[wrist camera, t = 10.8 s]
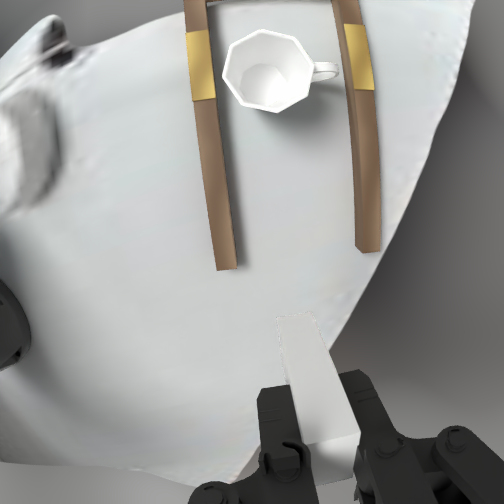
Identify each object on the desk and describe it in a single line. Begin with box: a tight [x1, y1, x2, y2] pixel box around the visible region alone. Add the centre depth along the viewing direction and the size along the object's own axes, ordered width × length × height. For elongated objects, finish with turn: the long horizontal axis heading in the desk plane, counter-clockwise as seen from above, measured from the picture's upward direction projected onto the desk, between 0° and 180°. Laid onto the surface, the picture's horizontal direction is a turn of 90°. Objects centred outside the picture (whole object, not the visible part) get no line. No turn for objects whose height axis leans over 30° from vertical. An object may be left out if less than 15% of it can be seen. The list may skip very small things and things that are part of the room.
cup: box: [222, 29, 339, 113], centre depth 24 cm, size 7×10×8 cm
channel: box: [184, 0, 381, 271], centre depth 28 cm, size 17×30×3 cm, turn 6°
